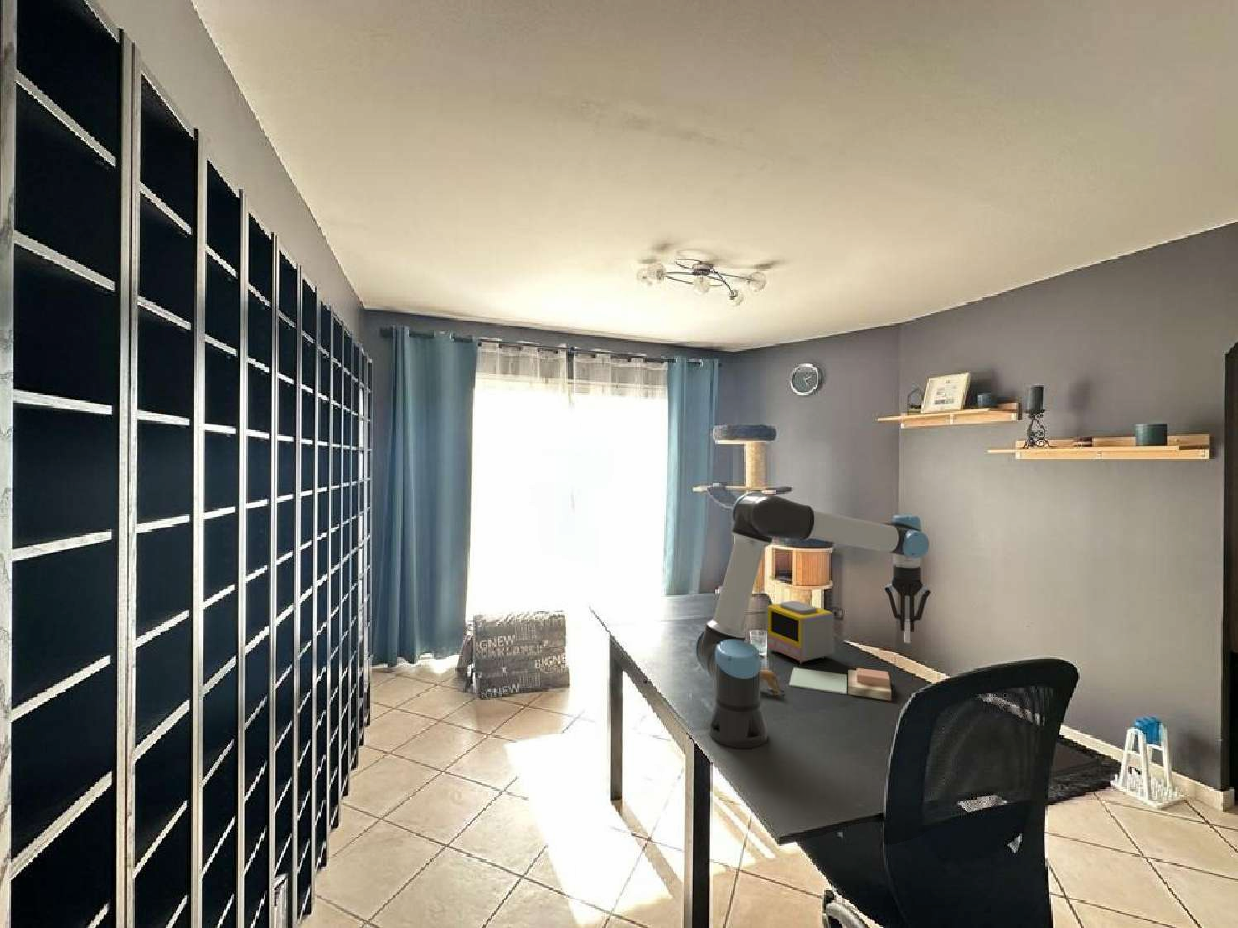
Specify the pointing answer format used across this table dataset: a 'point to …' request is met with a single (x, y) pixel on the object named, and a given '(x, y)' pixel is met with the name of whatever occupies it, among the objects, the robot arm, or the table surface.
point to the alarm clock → (800, 630)
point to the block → (872, 677)
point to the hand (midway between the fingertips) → (907, 641)
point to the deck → (867, 688)
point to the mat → (819, 680)
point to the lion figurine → (770, 680)
